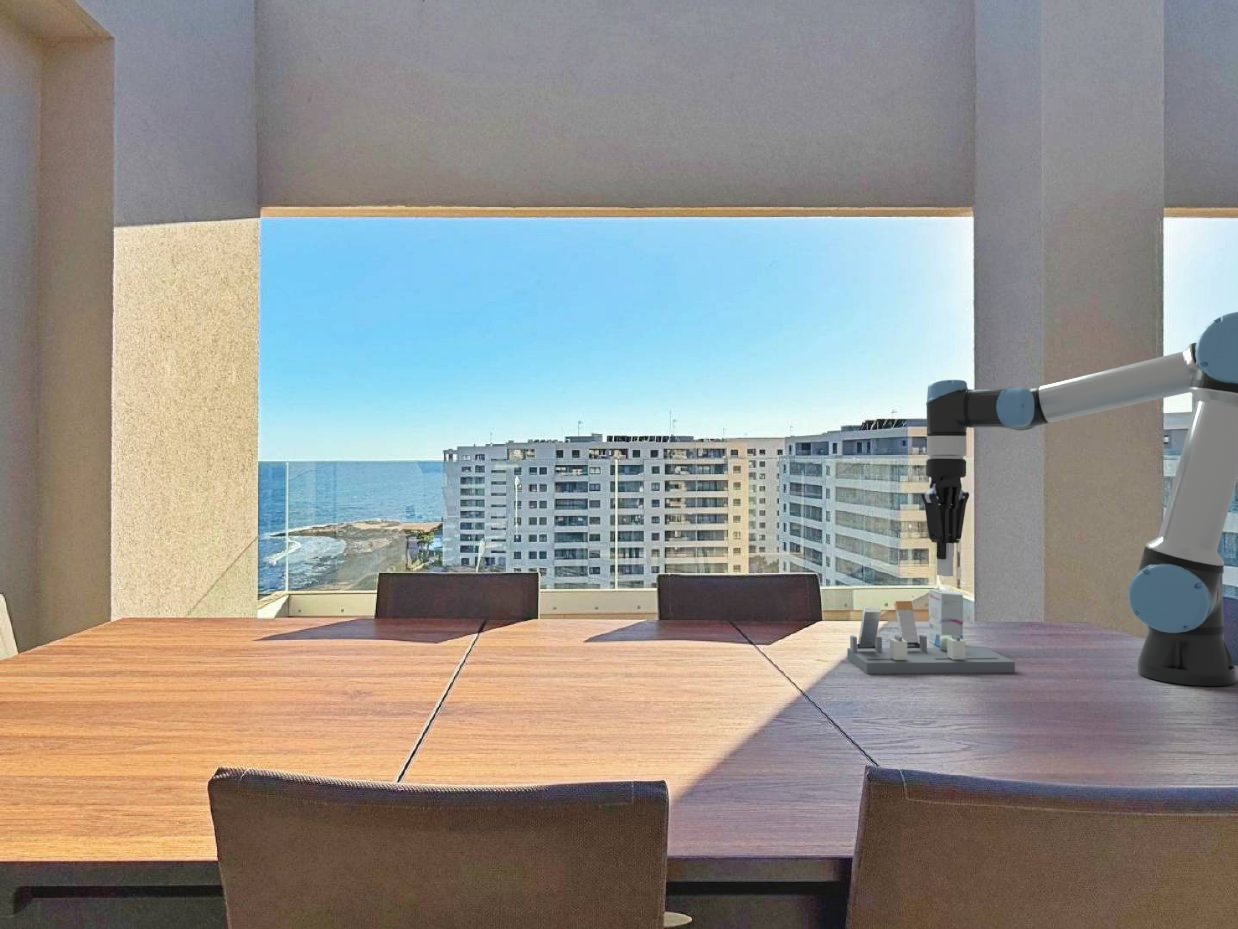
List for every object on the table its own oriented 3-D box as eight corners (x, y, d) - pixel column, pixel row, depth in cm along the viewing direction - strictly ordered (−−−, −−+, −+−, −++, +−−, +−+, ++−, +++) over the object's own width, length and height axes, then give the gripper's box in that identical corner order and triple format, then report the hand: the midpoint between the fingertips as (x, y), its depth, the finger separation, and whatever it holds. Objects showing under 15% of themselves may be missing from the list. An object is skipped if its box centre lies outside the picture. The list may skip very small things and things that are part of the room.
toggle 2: (918, 649, 176) (910, 603, 181) (920, 647, 175) (911, 601, 180) (901, 649, 176) (893, 603, 181) (903, 647, 175) (895, 601, 180)
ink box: (964, 648, 187) (963, 593, 188) (941, 648, 188) (940, 593, 188) (950, 641, 196) (949, 588, 196) (927, 641, 196) (927, 588, 196)
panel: (984, 656, 179) (983, 632, 179) (1015, 672, 165) (1014, 645, 165) (847, 658, 179) (847, 633, 179) (866, 673, 165) (866, 647, 165)
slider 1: (902, 656, 169) (902, 635, 169) (907, 660, 166) (907, 638, 166) (889, 656, 169) (889, 635, 169) (894, 660, 166) (894, 638, 166)
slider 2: (959, 656, 169) (959, 635, 169) (965, 659, 166) (965, 637, 166) (947, 656, 169) (946, 635, 169) (953, 659, 166) (952, 638, 166)
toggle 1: (873, 645, 177) (879, 607, 172) (875, 650, 175) (881, 612, 171) (856, 645, 177) (862, 607, 172) (858, 650, 175) (864, 612, 171)
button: (956, 647, 178) (956, 635, 178) (964, 651, 174) (964, 638, 174) (937, 647, 178) (936, 635, 178) (944, 651, 174) (944, 639, 174)
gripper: (948, 458, 182) (947, 571, 182) (910, 457, 174) (908, 575, 174) (981, 458, 175) (980, 575, 176) (943, 457, 168) (942, 580, 168)
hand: (944, 575), depth 175 cm, fingers closed
